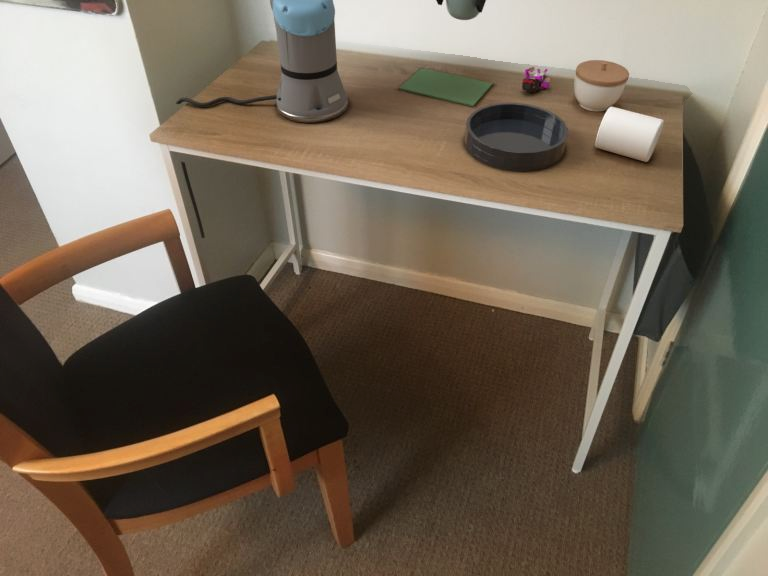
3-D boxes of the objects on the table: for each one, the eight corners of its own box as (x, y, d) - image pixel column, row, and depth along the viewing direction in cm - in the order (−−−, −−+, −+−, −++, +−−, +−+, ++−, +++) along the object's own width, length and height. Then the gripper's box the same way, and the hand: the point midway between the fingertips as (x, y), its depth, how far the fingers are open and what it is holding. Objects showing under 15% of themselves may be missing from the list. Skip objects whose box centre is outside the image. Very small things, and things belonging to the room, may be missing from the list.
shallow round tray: (449, 155, 117) (450, 137, 115) (485, 112, 130) (487, 95, 127) (547, 181, 111) (551, 162, 108) (575, 134, 123) (579, 116, 120)
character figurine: (529, 77, 144) (515, 92, 135) (534, 55, 141) (520, 69, 132) (553, 83, 142) (540, 98, 134) (558, 61, 139) (546, 75, 131)
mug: (643, 169, 114) (656, 131, 108) (591, 154, 118) (601, 116, 112) (659, 141, 121) (673, 104, 116) (610, 128, 125) (620, 91, 119)
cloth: (399, 89, 138) (399, 87, 138) (421, 69, 145) (421, 67, 145) (473, 106, 132) (473, 105, 131) (492, 84, 139) (492, 83, 139)
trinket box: (566, 112, 130) (576, 70, 123) (570, 90, 137) (580, 49, 131) (618, 120, 127) (631, 77, 121) (620, 97, 135) (632, 55, 128)
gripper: (551, -89, 118) (511, 23, 119) (453, -100, 125) (416, 6, 126) (548, -116, 111) (505, 3, 112) (444, -127, 118) (405, -14, 119)
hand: (458, 4), depth 119 cm, fingers closed on cup, 8 cm apart
